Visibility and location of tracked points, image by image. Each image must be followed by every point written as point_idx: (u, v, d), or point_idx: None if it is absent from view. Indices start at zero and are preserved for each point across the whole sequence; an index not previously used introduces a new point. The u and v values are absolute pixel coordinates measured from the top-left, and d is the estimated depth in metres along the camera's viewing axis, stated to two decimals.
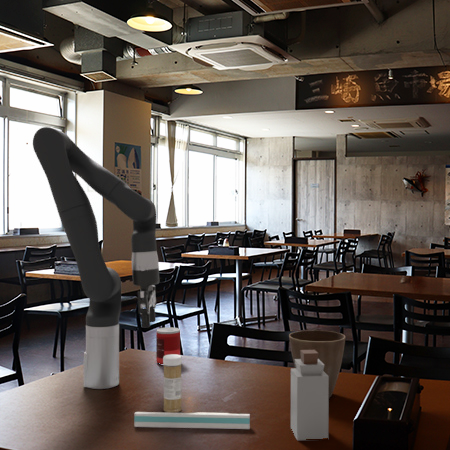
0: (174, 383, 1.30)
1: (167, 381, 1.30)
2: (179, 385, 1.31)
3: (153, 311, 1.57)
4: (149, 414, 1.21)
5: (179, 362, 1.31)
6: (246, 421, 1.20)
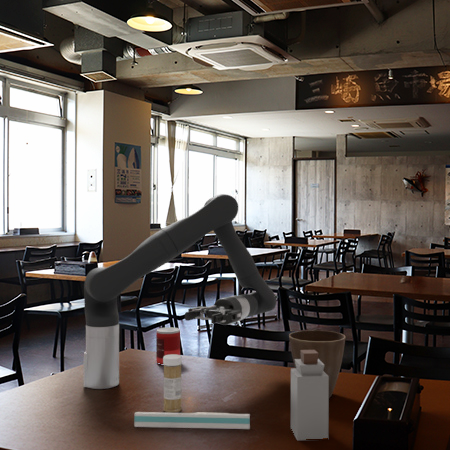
0: (174, 383, 1.30)
1: (167, 381, 1.30)
2: (179, 385, 1.31)
3: (193, 318, 1.46)
4: (149, 414, 1.21)
5: (179, 362, 1.31)
6: (246, 421, 1.20)
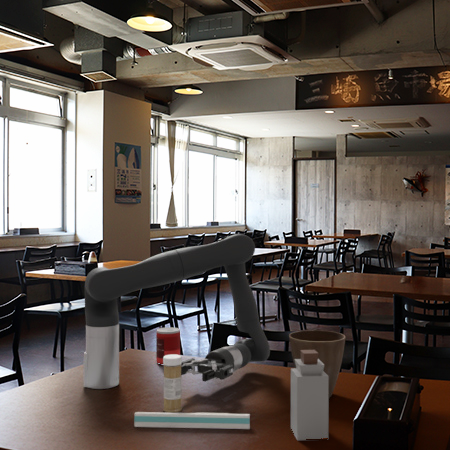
0: (174, 383, 1.30)
1: (167, 381, 1.30)
2: (179, 385, 1.31)
3: (184, 372, 1.43)
4: (149, 414, 1.21)
5: (179, 362, 1.31)
6: (246, 421, 1.20)
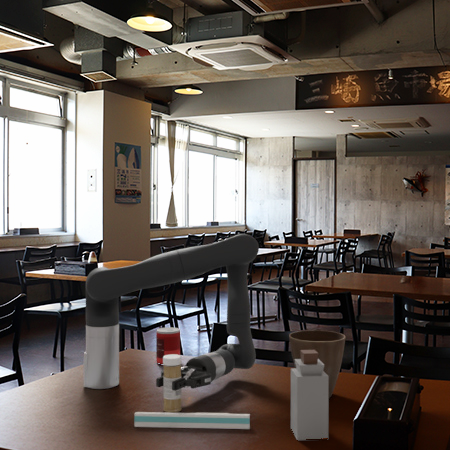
0: None
1: (166, 381, 1.30)
2: None
3: None
4: (149, 414, 1.21)
5: (179, 362, 1.31)
6: (246, 421, 1.20)
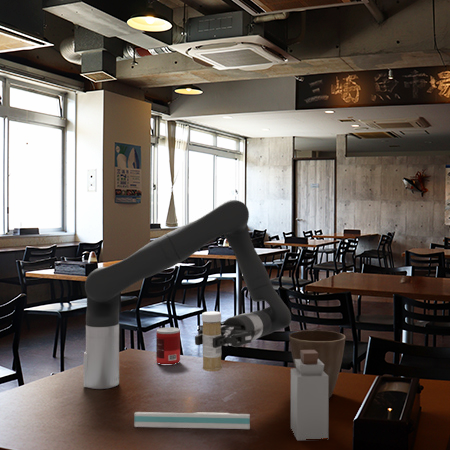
0: None
1: (206, 339, 1.25)
2: None
3: None
4: (149, 414, 1.21)
5: (219, 318, 1.25)
6: (246, 421, 1.20)
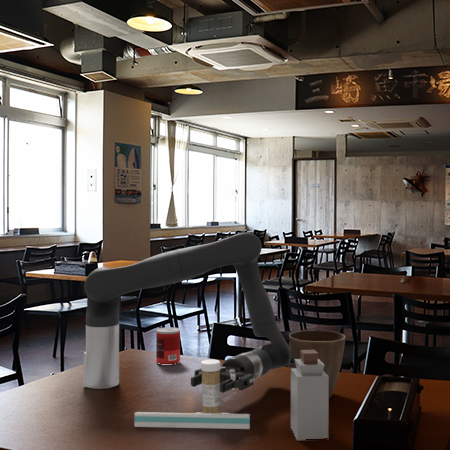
0: (213, 390, 1.24)
1: (205, 388, 1.25)
2: (218, 392, 1.25)
3: (200, 382, 1.29)
4: (149, 414, 1.21)
5: (218, 367, 1.25)
6: (246, 421, 1.20)
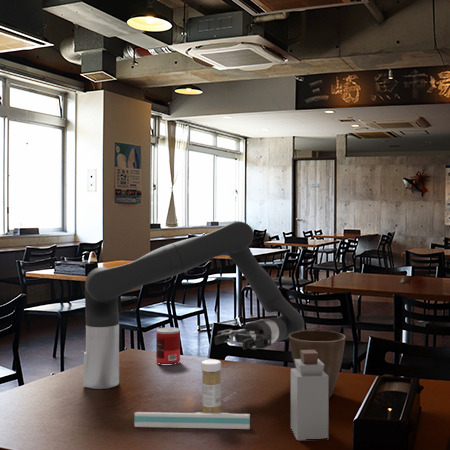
0: (213, 390, 1.24)
1: (206, 388, 1.25)
2: (218, 392, 1.25)
3: (223, 341, 1.43)
4: (149, 414, 1.21)
5: (219, 368, 1.25)
6: (246, 421, 1.20)
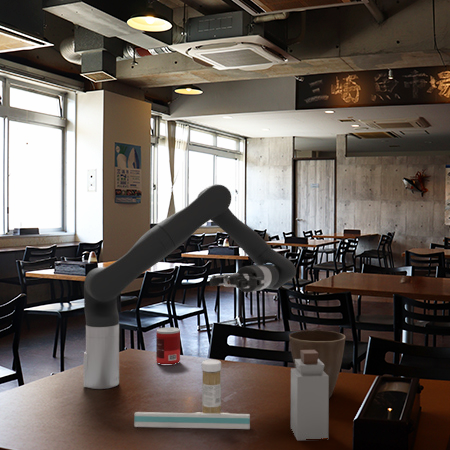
0: (213, 390, 1.24)
1: (206, 388, 1.25)
2: (219, 392, 1.25)
3: (218, 284, 1.49)
4: (149, 414, 1.21)
5: (219, 368, 1.25)
6: (246, 421, 1.20)
